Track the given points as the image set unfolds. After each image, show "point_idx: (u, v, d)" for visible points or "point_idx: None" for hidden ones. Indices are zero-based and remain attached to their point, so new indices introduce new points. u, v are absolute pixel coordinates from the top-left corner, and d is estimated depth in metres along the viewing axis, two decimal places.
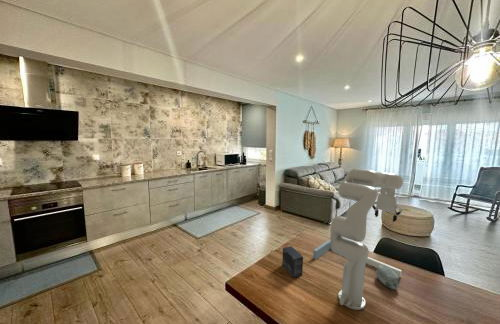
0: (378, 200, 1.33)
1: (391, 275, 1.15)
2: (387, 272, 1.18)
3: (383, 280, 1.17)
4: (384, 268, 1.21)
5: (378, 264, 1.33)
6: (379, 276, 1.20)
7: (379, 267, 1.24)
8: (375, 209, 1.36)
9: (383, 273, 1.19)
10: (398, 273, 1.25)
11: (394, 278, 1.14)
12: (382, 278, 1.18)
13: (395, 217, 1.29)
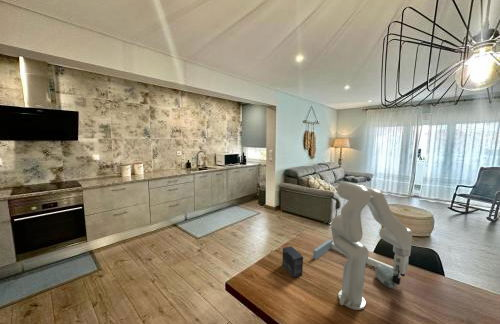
0: (404, 264, 1.10)
1: (389, 274, 1.16)
2: (386, 271, 1.19)
3: (381, 279, 1.18)
4: (383, 267, 1.22)
5: (378, 264, 1.33)
6: (378, 275, 1.21)
7: (377, 266, 1.25)
8: (398, 276, 1.11)
9: (382, 272, 1.19)
10: None
11: (392, 277, 1.15)
12: (381, 277, 1.18)
13: None
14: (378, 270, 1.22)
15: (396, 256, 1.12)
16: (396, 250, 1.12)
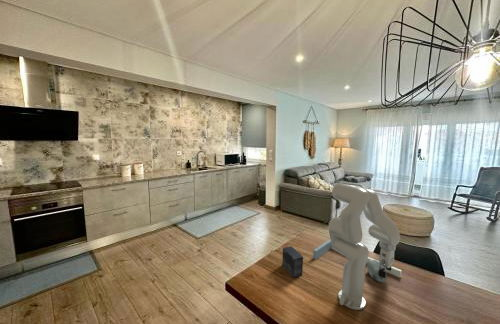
0: (389, 258, 1.15)
1: (378, 268, 1.21)
2: (375, 265, 1.23)
3: (370, 272, 1.23)
4: (374, 262, 1.27)
5: None
6: (368, 269, 1.26)
7: (370, 261, 1.30)
8: (384, 270, 1.16)
9: (371, 266, 1.25)
10: (398, 273, 1.25)
11: None
12: (370, 271, 1.24)
13: None
14: (369, 264, 1.27)
15: (382, 251, 1.17)
16: (382, 245, 1.17)
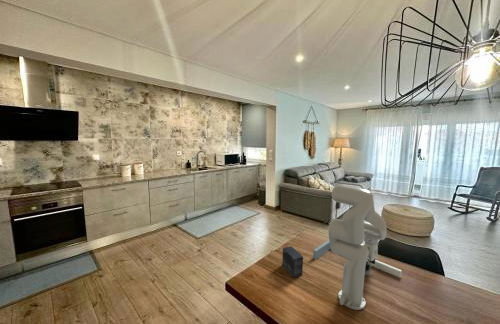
0: (372, 252, 1.21)
1: None
2: None
3: None
4: None
5: (378, 264, 1.33)
6: None
7: None
8: (368, 263, 1.22)
9: None
10: (398, 273, 1.25)
11: None
12: None
13: None
14: None
15: (366, 245, 1.23)
16: (366, 239, 1.24)
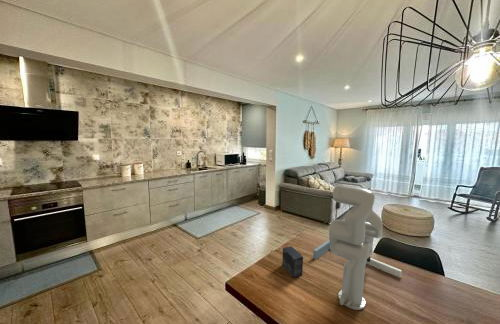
0: (367, 250, 1.23)
1: None
2: None
3: None
4: None
5: (378, 264, 1.33)
6: None
7: None
8: None
9: None
10: (398, 273, 1.25)
11: None
12: None
13: None
14: None
15: None
16: None
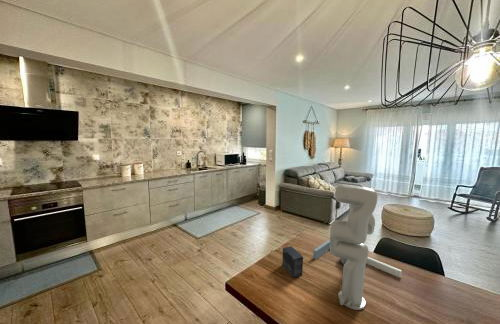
0: None
1: None
2: None
3: (342, 260, 1.35)
4: None
5: (378, 264, 1.33)
6: None
7: None
8: None
9: None
10: (398, 273, 1.25)
11: None
12: (342, 258, 1.36)
13: None
14: None
15: None
16: None
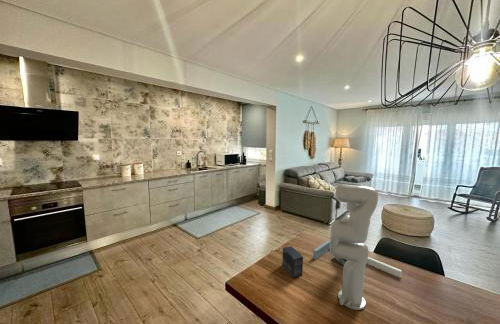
0: None
1: None
2: None
3: (337, 258, 1.37)
4: None
5: (378, 264, 1.33)
6: None
7: None
8: None
9: None
10: (398, 273, 1.25)
11: None
12: None
13: None
14: None
15: None
16: None
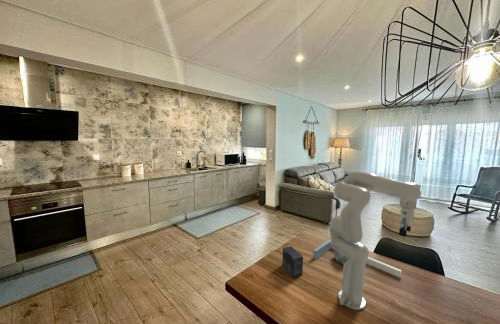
0: (410, 216, 1.14)
1: None
2: None
3: (337, 258, 1.38)
4: None
5: (378, 264, 1.33)
6: (335, 255, 1.41)
7: None
8: (405, 228, 1.15)
9: (338, 252, 1.39)
10: (398, 273, 1.25)
11: (345, 256, 1.34)
12: (336, 256, 1.38)
13: None
14: (336, 251, 1.42)
15: (403, 209, 1.16)
16: (403, 204, 1.17)
